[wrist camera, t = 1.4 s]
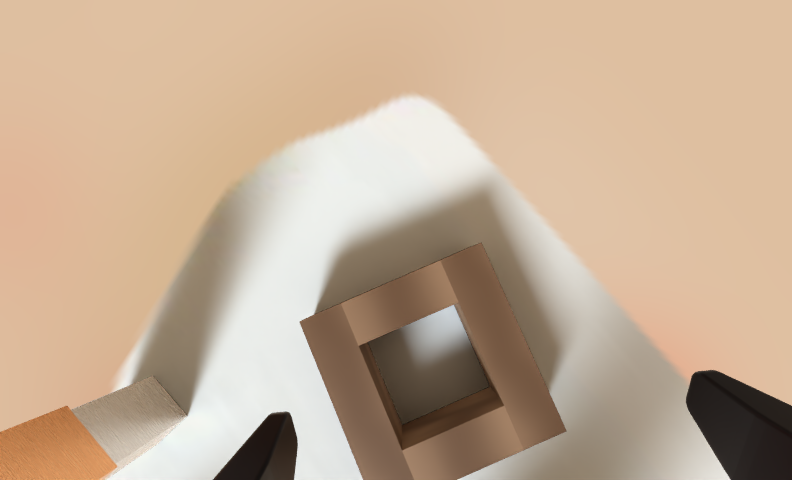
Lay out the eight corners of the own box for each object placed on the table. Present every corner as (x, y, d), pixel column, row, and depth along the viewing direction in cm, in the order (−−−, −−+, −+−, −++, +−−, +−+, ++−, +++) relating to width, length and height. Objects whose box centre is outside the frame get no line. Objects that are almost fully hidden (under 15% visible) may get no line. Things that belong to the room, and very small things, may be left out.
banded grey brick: (191, 416, 25) (-19, 559, 13) (158, 447, 25) (-88, 623, 12) (153, 371, 25) (-90, 467, 13) (120, 401, 25) (-158, 529, 13)
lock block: (381, 479, 24) (377, 514, 21) (313, 314, 25) (299, 321, 22) (543, 408, 25) (566, 431, 21) (470, 246, 25) (481, 242, 22)
